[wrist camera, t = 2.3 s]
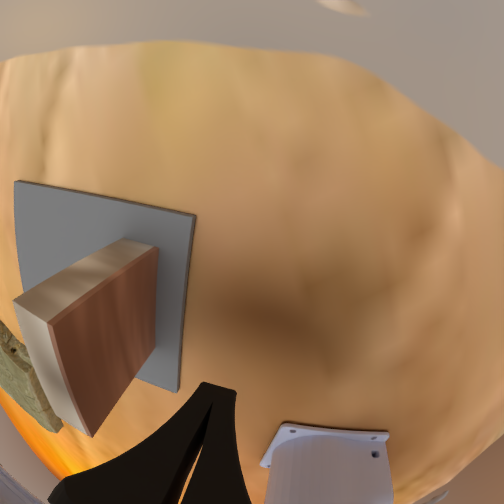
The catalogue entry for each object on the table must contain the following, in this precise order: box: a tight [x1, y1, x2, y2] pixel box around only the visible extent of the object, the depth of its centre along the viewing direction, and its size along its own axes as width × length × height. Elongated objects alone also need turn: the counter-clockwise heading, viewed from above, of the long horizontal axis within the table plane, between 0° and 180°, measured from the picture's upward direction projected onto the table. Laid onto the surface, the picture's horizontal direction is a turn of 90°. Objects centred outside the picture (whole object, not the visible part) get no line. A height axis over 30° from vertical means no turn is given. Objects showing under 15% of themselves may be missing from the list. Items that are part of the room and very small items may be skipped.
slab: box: [13, 238, 159, 438], centre depth 12 cm, size 2×7×8 cm, turn 168°
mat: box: [14, 180, 196, 393], centre depth 16 cm, size 16×13×1 cm
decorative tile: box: [0, 321, 63, 433], centre depth 23 cm, size 19×20×4 cm
